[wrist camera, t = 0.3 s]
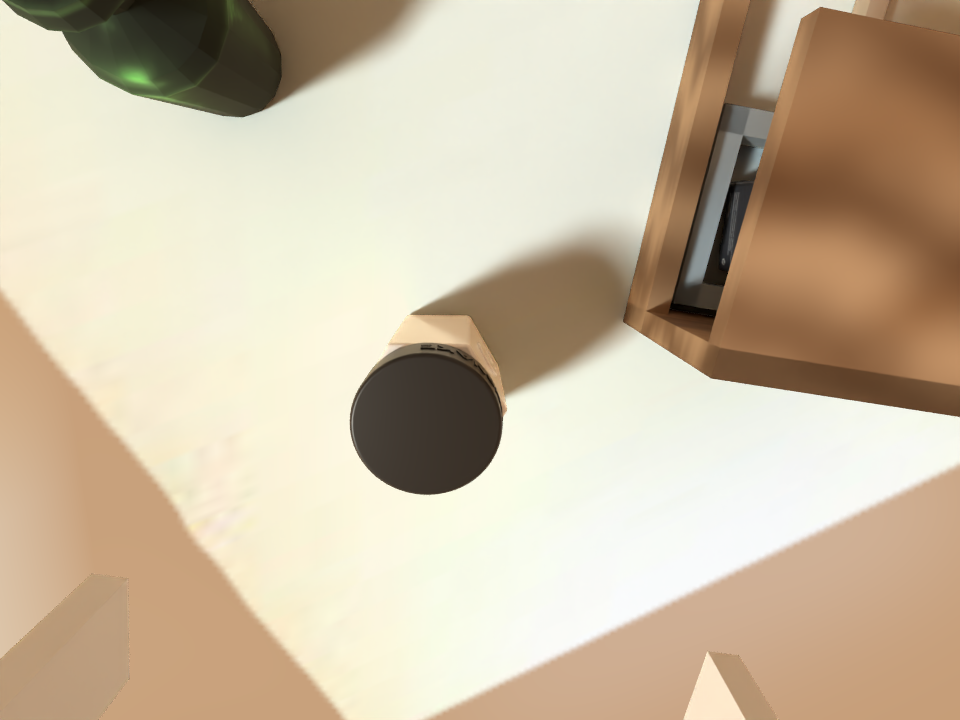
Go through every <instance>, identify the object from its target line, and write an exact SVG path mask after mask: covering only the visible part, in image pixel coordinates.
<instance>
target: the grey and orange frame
mask: <svg viewBox="0 0 960 720" xmlns="http://www.w3.org/2000/svg"><path fill="white" fill-rule="evenodd" d="M889 2H890V0H856V1H855V4H854V8H853V11H852V14H857V15H862V16H867V17H872V18H877V19H882V20H884V17H885V14H886V11H887V8H888V5H889ZM773 115H774V112H770V111H764V110H759V109H754V108H749V107H743V106H738V105H733V104H728V103H726V104H723V107H722V111H721V115H720V118H719V122H718V126H717V130H716V134H715V137H714V141H713V145H712V149H711V153H710V156H709V160H708V164H707V168H706V172H705V176H704V179H703V183H702V187H701V191H700V195H699V198H698V202H697V206H696V210H695V214H694V217H693V221H692V225H691V229H690V233H689V236H688V240H687V244H686V248H685V252H684V256H683V259H682V263H681V267H680V271H679V275H678V278H677V282H676V286H675V290H674V294H673V297H672V301H671V303H675V304H681V305H687V306H693V307H699V308H705V309H711V310H718V307H719V303H720V300H721V296H722V293H723V289H724V286H720V285H714V284H708V283H702V282H703V279H704V275H705V272H706V268H707V264H708V261H709V257H710V253H711V250H712V246H713V242H714V239H715V235H716V232H717V228H718V224H719V221H720V217H721V213H722V210H723V206H724V203H725V199H726V195H727V192H728V188H729V184H730V181H731V177H732V174H733V170H734V166H735V163H736V159H737V155H738V152H739V148H740V145H747V146H752V147H757V148H763V149H764V146H765V143H766V140H767V136H768V133H769V129H770V126H771V122H772V119H773Z"/></svg>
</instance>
